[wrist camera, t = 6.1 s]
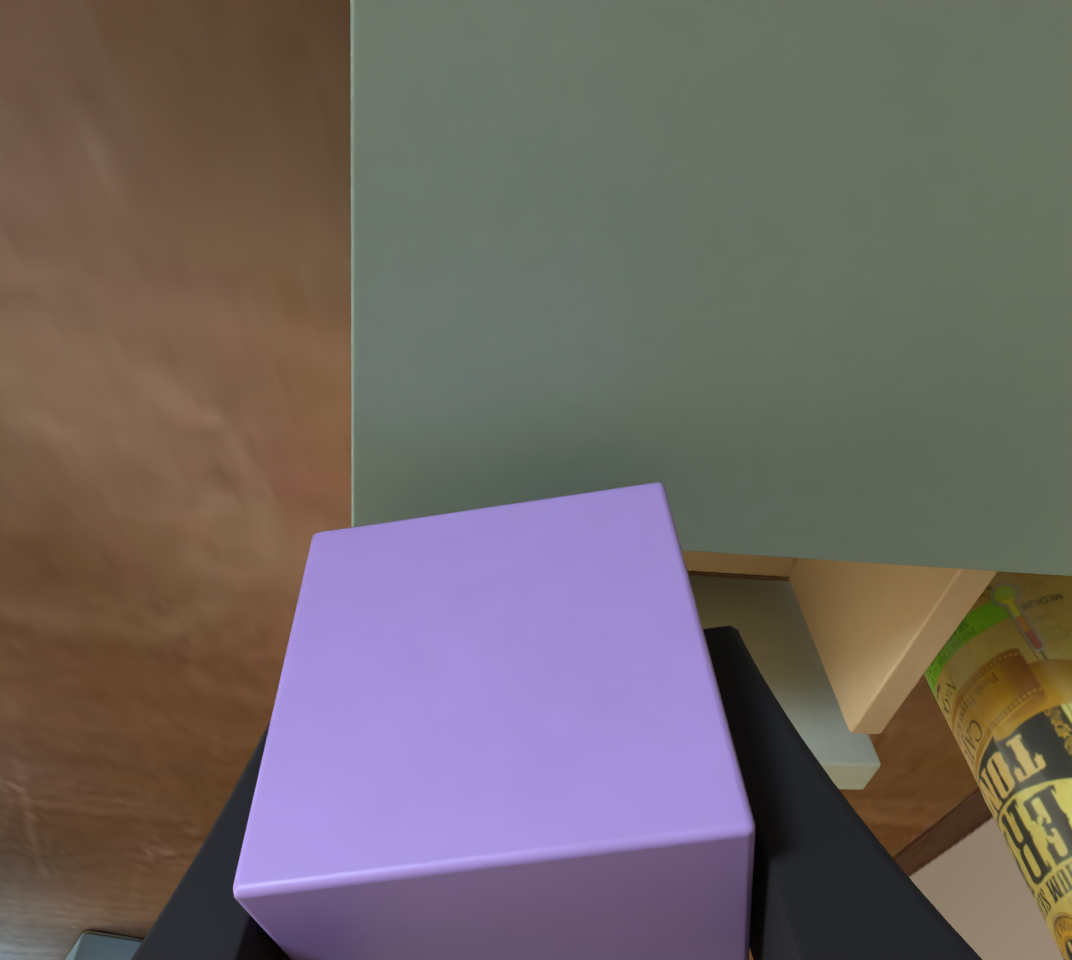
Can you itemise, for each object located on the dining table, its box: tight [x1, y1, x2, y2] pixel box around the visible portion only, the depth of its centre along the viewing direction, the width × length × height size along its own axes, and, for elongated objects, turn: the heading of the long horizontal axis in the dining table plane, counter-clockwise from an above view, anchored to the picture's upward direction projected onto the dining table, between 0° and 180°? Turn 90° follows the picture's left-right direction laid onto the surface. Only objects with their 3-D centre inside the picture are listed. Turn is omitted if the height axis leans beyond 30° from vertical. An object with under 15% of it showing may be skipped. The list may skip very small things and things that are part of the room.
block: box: [233, 482, 756, 960], centre depth 11 cm, size 5×5×5 cm
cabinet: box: [350, 0, 1072, 576], centre depth 12 cm, size 13×13×8 cm
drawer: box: [682, 551, 998, 790], centre depth 20 cm, size 18×12×6 cm, turn 172°
